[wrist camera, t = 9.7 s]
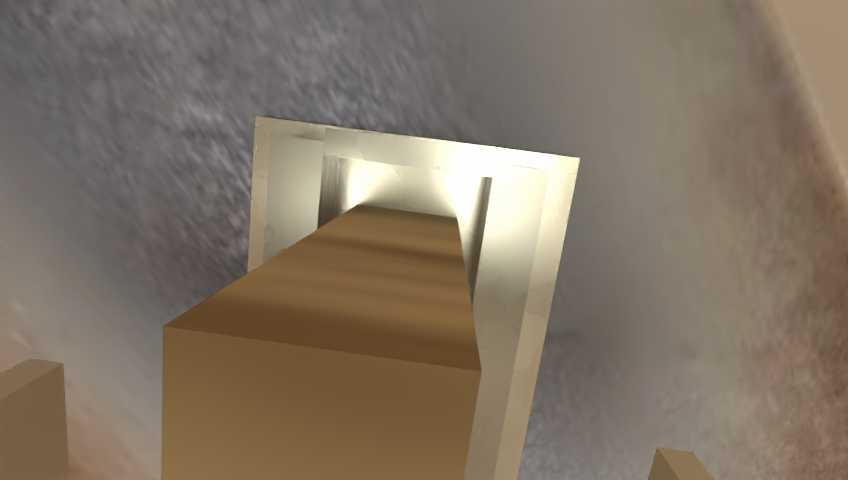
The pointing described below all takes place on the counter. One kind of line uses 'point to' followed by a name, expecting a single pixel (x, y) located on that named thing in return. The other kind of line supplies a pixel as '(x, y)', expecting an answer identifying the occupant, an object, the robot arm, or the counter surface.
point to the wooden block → (330, 360)
